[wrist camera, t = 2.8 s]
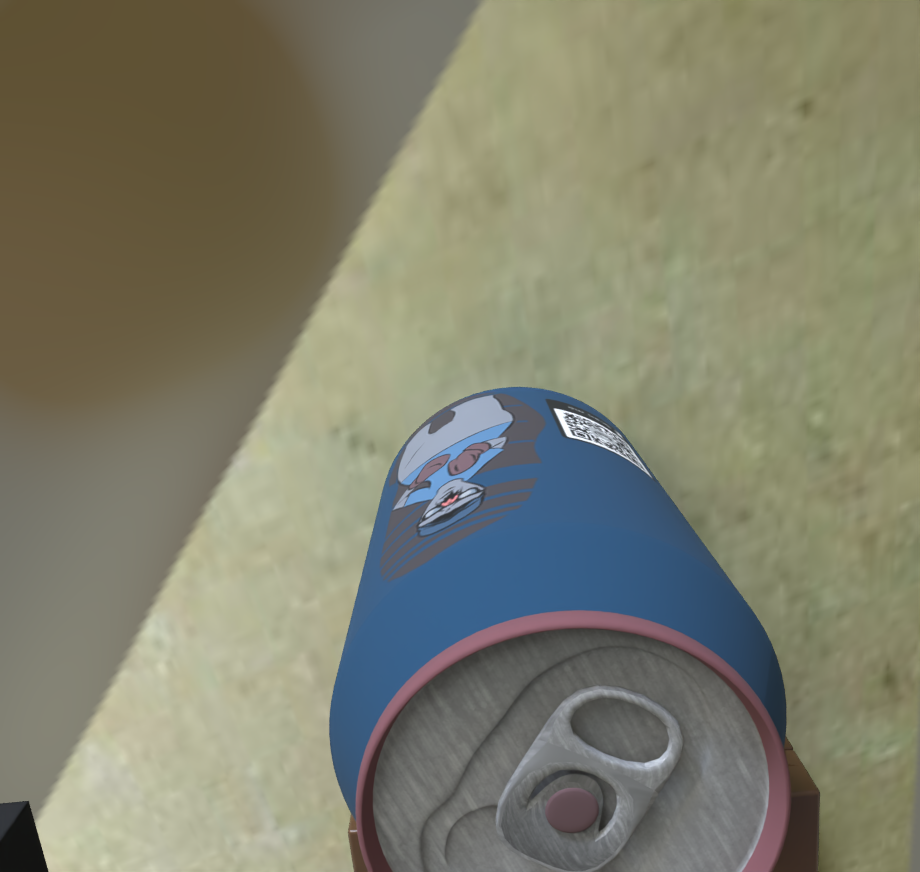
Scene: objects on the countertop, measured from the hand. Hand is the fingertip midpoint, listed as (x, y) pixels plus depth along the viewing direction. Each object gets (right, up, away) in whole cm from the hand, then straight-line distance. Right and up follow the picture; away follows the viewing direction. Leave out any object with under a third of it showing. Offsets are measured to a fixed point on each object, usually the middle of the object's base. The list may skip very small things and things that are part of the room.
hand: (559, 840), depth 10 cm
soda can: (0, +3, +12) cm, 13 cm away
